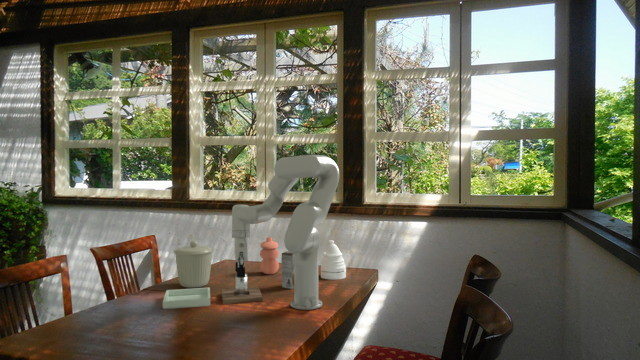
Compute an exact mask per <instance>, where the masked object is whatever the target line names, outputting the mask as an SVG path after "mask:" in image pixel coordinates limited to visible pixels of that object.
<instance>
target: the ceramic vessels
mask: <svg viewBox="0 0 640 360" xmlns="http://www.w3.org/2000/svg"><path fill="white" fill-rule="evenodd" d="M278 247H279V244H278V242H276V241H273V237H270V236H269V237H266V240H265V241H263V242H261V243H260V248H261V250H260V251H259V256H260V258H261V259H262V260H261V261H260V263H259V269H260V271H261V272H262V273H263V274H264V275H273V274H275V273H277V272H278V271H279V268H280V264H279V261H278V260H277V259H278V257H279V255H280V252H279V249H277V248H278ZM274 280H275V281H276V282H277V281H278V283H281V284H282V274H279V275H278V276H277V277H275V279H274Z"/></svg>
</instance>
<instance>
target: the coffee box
mask: <svg viewBox="0 0 640 360" xmlns="http://www.w3.org/2000/svg"><path fill="white" fill-rule="evenodd" d="M294 261H295V253H291V252H289V251H288V250H287V251H284V252H282V253H281V275H282V283H281V287H282V288H285V289H290V290H294Z"/></svg>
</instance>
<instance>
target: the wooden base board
mask: <svg viewBox="0 0 640 360" xmlns="http://www.w3.org/2000/svg"><path fill="white" fill-rule="evenodd" d="M221 300H222V304H223V305H229V304H231V305H232V304H243V303H246V302H247V303H258V302H257V301H260V302H263V301H264V297H263V294H262V292H261V290H260V287H259V286H256V287H255V286H254V287H248V295H237V296H236V288H228V289H227V288H225V289H221Z"/></svg>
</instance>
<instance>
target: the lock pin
mask: <svg viewBox="0 0 640 360" xmlns="http://www.w3.org/2000/svg"><path fill="white" fill-rule="evenodd" d="M248 284H249V283H248V272H247V273H246V272H245V277H237V273H235V289H236V296H237V295H248V288H249V287H248Z"/></svg>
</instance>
